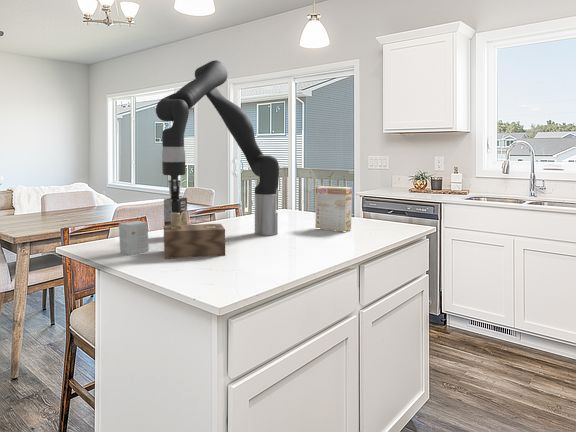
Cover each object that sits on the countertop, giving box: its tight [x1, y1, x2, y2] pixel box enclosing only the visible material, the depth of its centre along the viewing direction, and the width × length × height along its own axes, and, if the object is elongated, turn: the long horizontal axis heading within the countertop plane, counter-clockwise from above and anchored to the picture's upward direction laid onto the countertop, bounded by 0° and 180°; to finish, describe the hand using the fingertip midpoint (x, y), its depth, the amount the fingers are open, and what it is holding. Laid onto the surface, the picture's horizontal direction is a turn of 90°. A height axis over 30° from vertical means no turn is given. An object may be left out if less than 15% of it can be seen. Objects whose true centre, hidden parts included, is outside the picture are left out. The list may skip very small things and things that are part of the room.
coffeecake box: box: [314, 185, 353, 232], centre depth 206 cm, size 15×7×20 cm, turn 58°
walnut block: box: [163, 223, 226, 259], centre depth 158 cm, size 20×12×9 cm, turn 105°
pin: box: [171, 213, 180, 229], centre depth 156 cm, size 3×3×8 cm
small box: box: [118, 220, 150, 256], centre depth 159 cm, size 8×6×10 cm
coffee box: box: [163, 197, 189, 227], centre depth 185 cm, size 9×6×16 cm
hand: (175, 212), depth 155 cm, fingers closed
